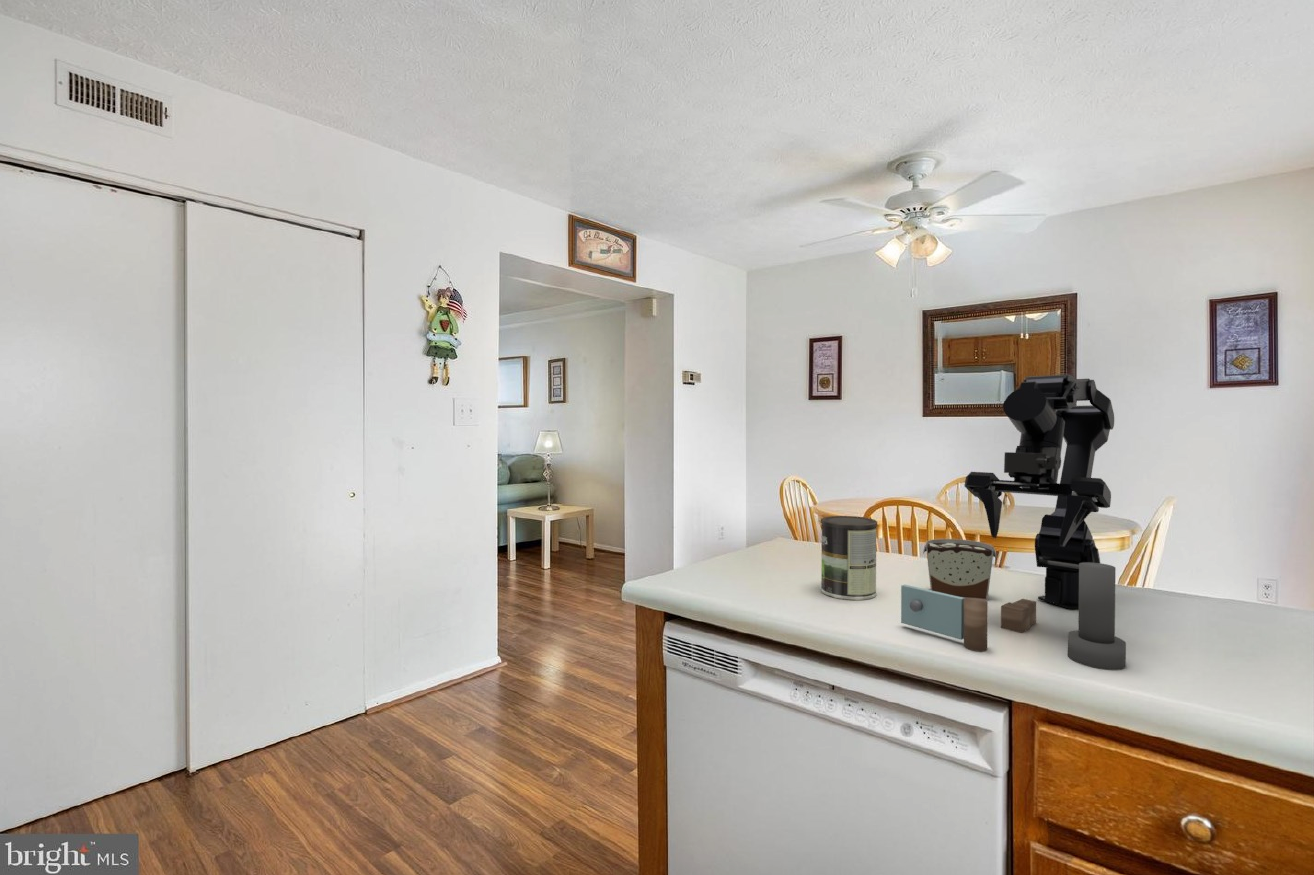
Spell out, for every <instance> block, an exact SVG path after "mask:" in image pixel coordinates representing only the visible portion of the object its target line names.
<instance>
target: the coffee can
mask: <svg viewBox="0 0 1314 875" xmlns="http://www.w3.org/2000/svg"><path fill="white" fill-rule="evenodd" d="M820 523H821V577H820V579H821V587H820V592H821V593H822V594H823V595H825V596H827V597H832V598H834V599H839V600H846V601H865V600H866V601H867V600H871V599H874V598H875V597H876V596H877V526H878V521H877V520H876V519H873V518H869V517H864V516H854V515H830V516H824V517H821V519H820Z"/></svg>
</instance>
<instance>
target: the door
mask: <svg viewBox="0 0 1314 875" xmlns="http://www.w3.org/2000/svg"><path fill="white" fill-rule="evenodd" d="M900 588H901V589H900V592H901V595H900V600H901V601H900V610H901V611H900V622H901V624H903V625H904V624H905V625H906V626H910V627H914V628H918V629H922V630H925V631H929V632H932V633H936V634H939V635H943V636H946V637H950V638H954V639H957V640H961V641H962V640H964V599H965V598H963V597H958V596H954V595H949V594H945V593H940V592H936V591H932V590H931V589H926V588H923V587H919V586H918V587H917V586H913V585H910V584H901V587H900Z"/></svg>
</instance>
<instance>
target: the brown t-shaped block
mask: <svg viewBox="0 0 1314 875" xmlns="http://www.w3.org/2000/svg"><path fill="white" fill-rule="evenodd" d="M988 604H989V603H988V600H987V601H986V600H983V599H978V598H965V599H964V639H963V647H964V648H965V649H967V650H970V651H974V652H986V651H987V650H988V615H989V614H988V608H989V607H988ZM1036 623H1037V601H1036V600H1030V599H1027V598H1022V599H1019V600H1017V601H1015V602H1007V603H1005V604H1002V605H1001V606H1000V628H1001V629H1005V630H1008V631H1013V632H1016V633H1020V634H1021V633H1022V634H1023V633H1024V632H1026V631H1028V630H1030V628H1031V626H1033V625H1035V624H1036Z"/></svg>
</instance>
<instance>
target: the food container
mask: <svg viewBox="0 0 1314 875" xmlns="http://www.w3.org/2000/svg"><path fill="white" fill-rule="evenodd" d="M925 552H926V558H927V567H928V576H929V586H930V590H932V591H936V592H940V593H945V594H949V595H954V596H958V597H963V598H978V599H983V600H986V601H987V602H988V599H989V598H988V597H989V591H990V590H989V589H990V582H991V573H992V566H993V558H995V559H997V558H998V556H997V551H996V550H995V549H994V545H991V544H989V543H985V542H982V541H976V540H969V539H961V538H959V539H958V538H957V539H956V538H935V539H930V540H927V541H926V542H925V544H924V548H923V551H922V554H925Z"/></svg>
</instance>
